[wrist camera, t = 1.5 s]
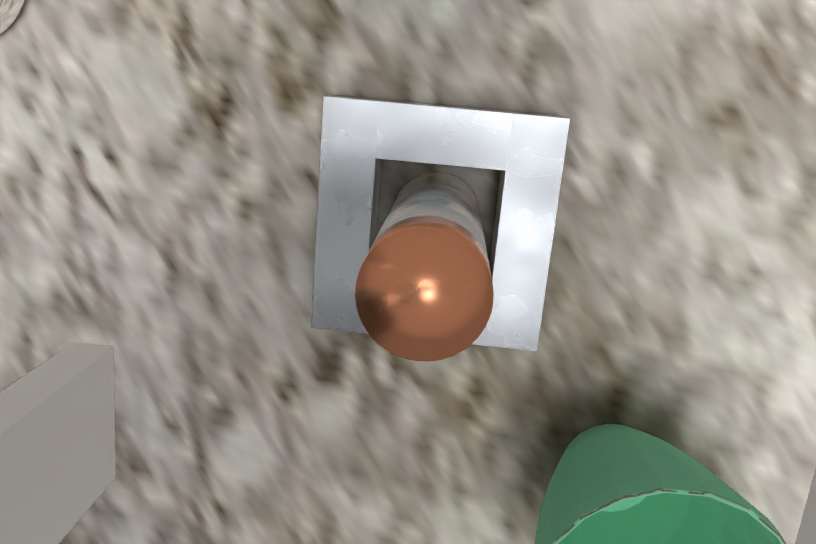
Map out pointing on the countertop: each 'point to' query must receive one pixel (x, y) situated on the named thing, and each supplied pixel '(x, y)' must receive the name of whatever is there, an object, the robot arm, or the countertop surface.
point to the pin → (427, 272)
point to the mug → (642, 496)
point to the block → (447, 145)
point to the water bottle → (9, 12)
